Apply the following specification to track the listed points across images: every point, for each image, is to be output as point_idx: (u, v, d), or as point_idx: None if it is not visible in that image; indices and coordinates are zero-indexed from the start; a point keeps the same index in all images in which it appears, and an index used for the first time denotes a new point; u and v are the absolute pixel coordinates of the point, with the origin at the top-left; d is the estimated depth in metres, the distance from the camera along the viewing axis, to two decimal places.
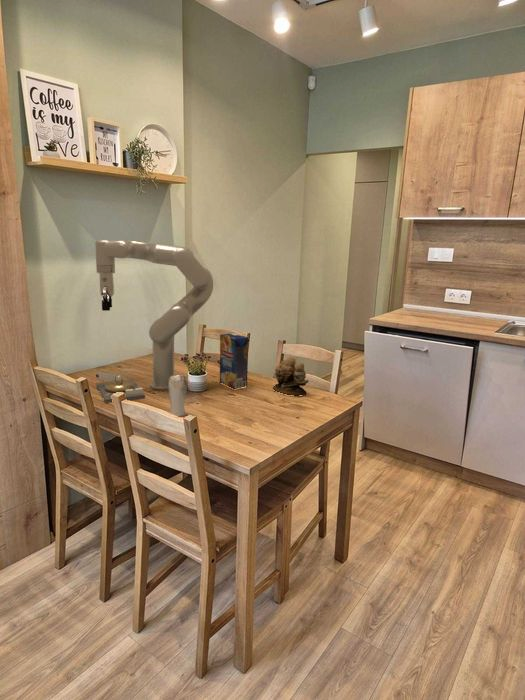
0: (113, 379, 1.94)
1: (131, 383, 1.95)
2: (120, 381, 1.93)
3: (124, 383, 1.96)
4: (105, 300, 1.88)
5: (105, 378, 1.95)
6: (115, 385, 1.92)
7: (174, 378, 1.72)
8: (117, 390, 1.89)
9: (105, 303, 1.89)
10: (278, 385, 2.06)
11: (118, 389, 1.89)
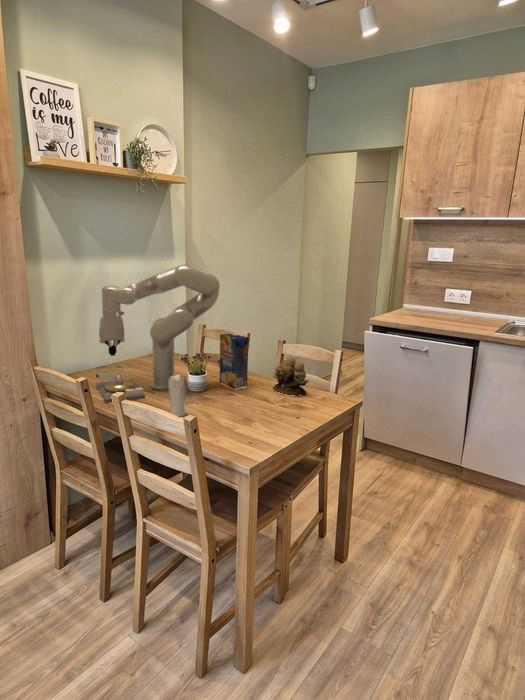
0: (113, 379, 1.94)
1: (131, 383, 1.95)
2: (120, 381, 1.93)
3: (124, 383, 1.96)
4: None
5: (105, 378, 1.95)
6: (115, 385, 1.92)
7: (174, 378, 1.72)
8: (117, 390, 1.89)
9: None
10: (278, 385, 2.06)
11: (118, 389, 1.89)
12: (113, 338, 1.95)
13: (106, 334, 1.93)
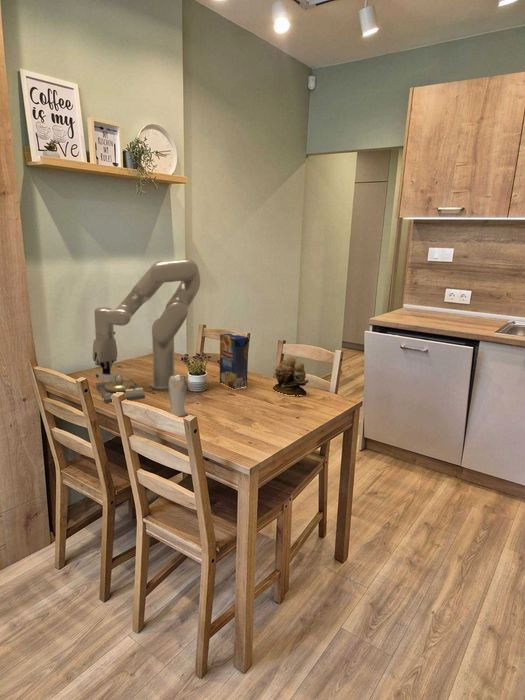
0: (113, 379, 1.94)
1: (131, 383, 1.95)
2: (120, 381, 1.93)
3: (124, 383, 1.96)
4: None
5: (105, 378, 1.95)
6: (115, 385, 1.92)
7: (174, 378, 1.72)
8: (117, 390, 1.89)
9: None
10: (278, 385, 2.06)
11: (118, 389, 1.89)
12: (109, 359, 1.96)
13: (103, 356, 1.93)
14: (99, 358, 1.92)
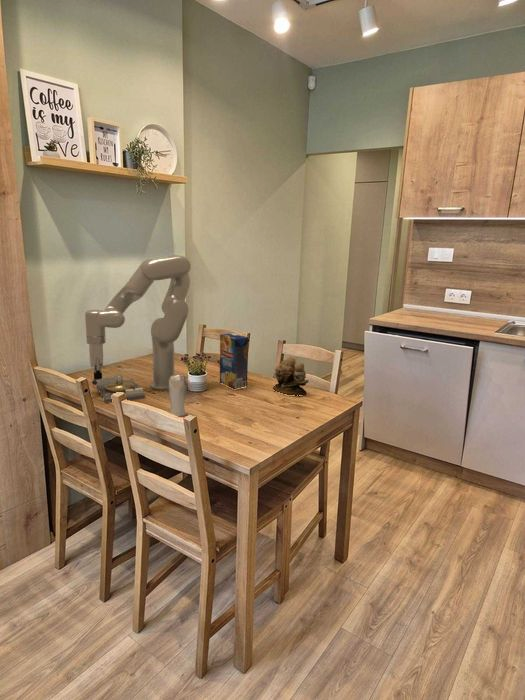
0: (114, 380, 1.92)
1: (128, 380, 1.99)
2: (122, 380, 1.94)
3: None
4: None
5: (105, 382, 1.90)
6: (121, 385, 1.92)
7: (174, 378, 1.72)
8: (130, 388, 1.92)
9: None
10: (278, 385, 2.06)
11: (130, 387, 1.93)
12: None
13: None
14: (102, 362, 1.85)
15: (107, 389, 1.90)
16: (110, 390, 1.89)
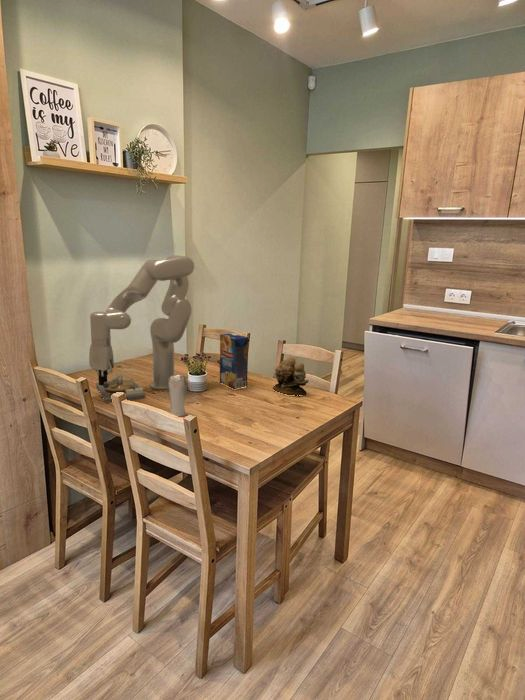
0: (118, 381, 1.92)
1: None
2: None
3: None
4: None
5: (113, 384, 1.88)
6: (124, 384, 1.94)
7: (174, 378, 1.72)
8: (133, 385, 1.96)
9: None
10: (278, 385, 2.06)
11: (133, 384, 1.96)
12: None
13: None
14: (113, 363, 1.84)
15: (115, 390, 1.89)
16: (119, 390, 1.89)
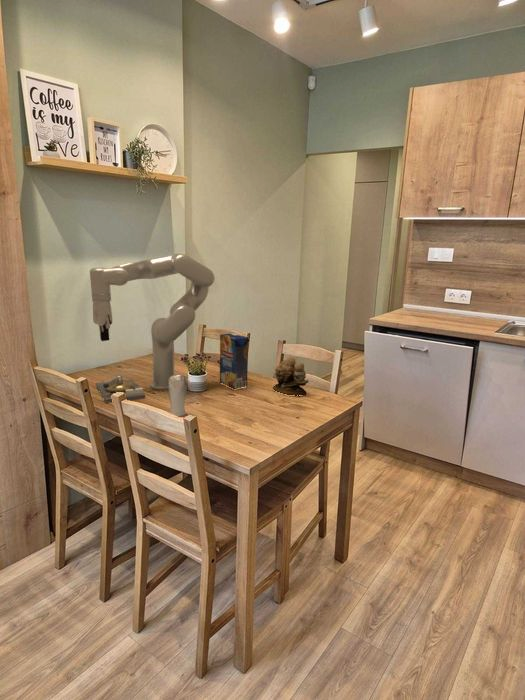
0: (118, 381, 1.92)
1: None
2: None
3: None
4: None
5: (113, 384, 1.88)
6: (124, 384, 1.94)
7: (174, 378, 1.72)
8: (133, 385, 1.96)
9: None
10: (278, 385, 2.06)
11: (133, 384, 1.96)
12: None
13: None
14: None
15: (115, 390, 1.89)
16: (119, 390, 1.89)
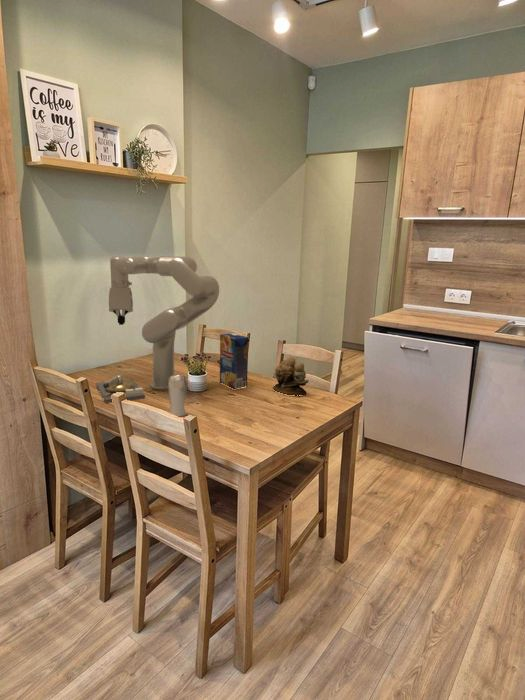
0: (118, 381, 1.92)
1: None
2: None
3: None
4: None
5: (113, 384, 1.88)
6: (124, 384, 1.94)
7: (174, 378, 1.72)
8: (133, 385, 1.96)
9: (124, 317, 2.05)
10: (278, 385, 2.06)
11: (133, 384, 1.96)
12: (120, 307, 2.01)
13: (113, 303, 2.01)
14: (109, 304, 2.01)
15: (115, 390, 1.89)
16: (119, 390, 1.89)
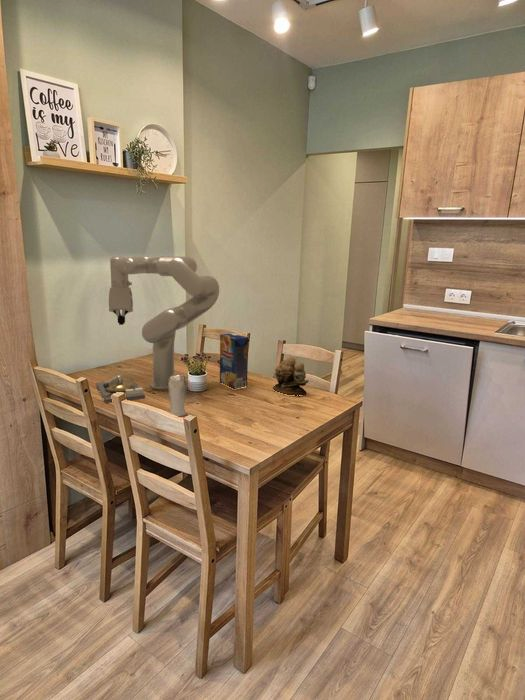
0: (118, 381, 1.92)
1: None
2: None
3: None
4: None
5: (113, 384, 1.88)
6: (124, 384, 1.94)
7: (174, 378, 1.72)
8: (133, 385, 1.96)
9: (124, 317, 2.05)
10: (278, 385, 2.06)
11: (133, 384, 1.96)
12: (120, 307, 2.01)
13: (113, 303, 2.01)
14: (109, 304, 2.01)
15: (115, 390, 1.89)
16: (119, 390, 1.89)
